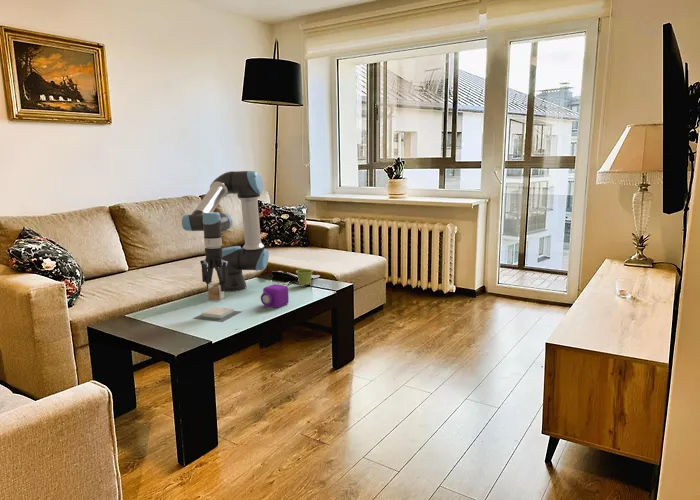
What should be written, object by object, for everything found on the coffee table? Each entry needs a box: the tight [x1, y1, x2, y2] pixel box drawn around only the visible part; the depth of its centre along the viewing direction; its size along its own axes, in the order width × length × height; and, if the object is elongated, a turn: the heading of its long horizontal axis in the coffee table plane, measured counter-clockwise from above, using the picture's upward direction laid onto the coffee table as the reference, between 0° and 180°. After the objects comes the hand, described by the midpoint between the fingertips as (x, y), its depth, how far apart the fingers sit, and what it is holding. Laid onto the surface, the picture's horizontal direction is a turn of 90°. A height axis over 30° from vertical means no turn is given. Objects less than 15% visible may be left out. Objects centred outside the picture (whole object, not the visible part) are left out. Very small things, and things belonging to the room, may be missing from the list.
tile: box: [201, 306, 235, 319], centre depth 224 cm, size 10×2×10 cm
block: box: [207, 285, 224, 301], centre depth 222 cm, size 5×5×5 cm
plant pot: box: [295, 268, 313, 285], centre depth 276 cm, size 9×9×9 cm
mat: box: [191, 310, 242, 323], centre depth 224 cm, size 16×16×1 cm
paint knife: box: [282, 274, 321, 285], centre depth 289 cm, size 30×14×2 cm, turn 152°
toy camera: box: [260, 283, 290, 309], centre depth 238 cm, size 11×14×10 cm
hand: (216, 297), depth 223 cm, fingers closed on block, 5 cm apart
